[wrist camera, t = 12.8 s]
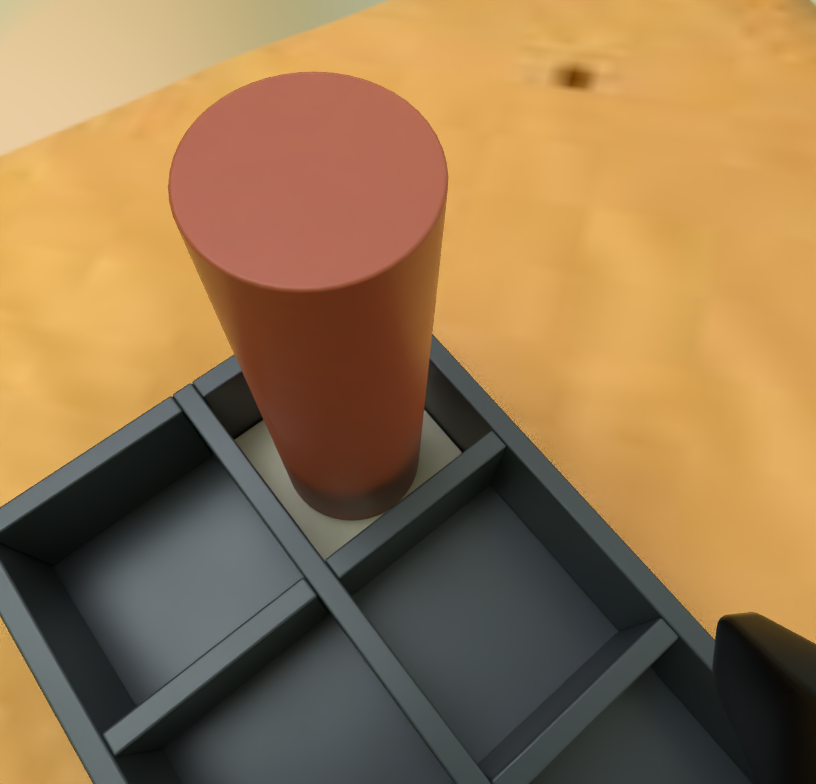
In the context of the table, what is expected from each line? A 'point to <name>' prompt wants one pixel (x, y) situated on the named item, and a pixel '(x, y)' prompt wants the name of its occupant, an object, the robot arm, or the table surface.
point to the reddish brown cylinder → (322, 271)
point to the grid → (350, 613)
